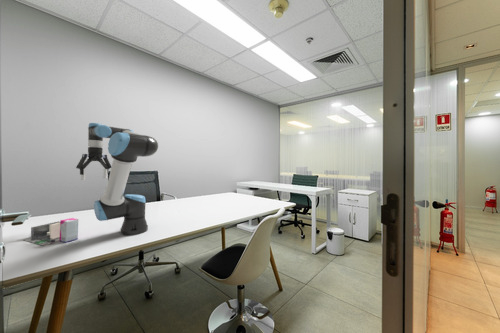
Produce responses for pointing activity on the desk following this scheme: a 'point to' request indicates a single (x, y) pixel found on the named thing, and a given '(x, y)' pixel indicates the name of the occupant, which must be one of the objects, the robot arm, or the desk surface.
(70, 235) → the supplement box
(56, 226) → the plunger
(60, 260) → the desk surface
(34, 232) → the gauge base
